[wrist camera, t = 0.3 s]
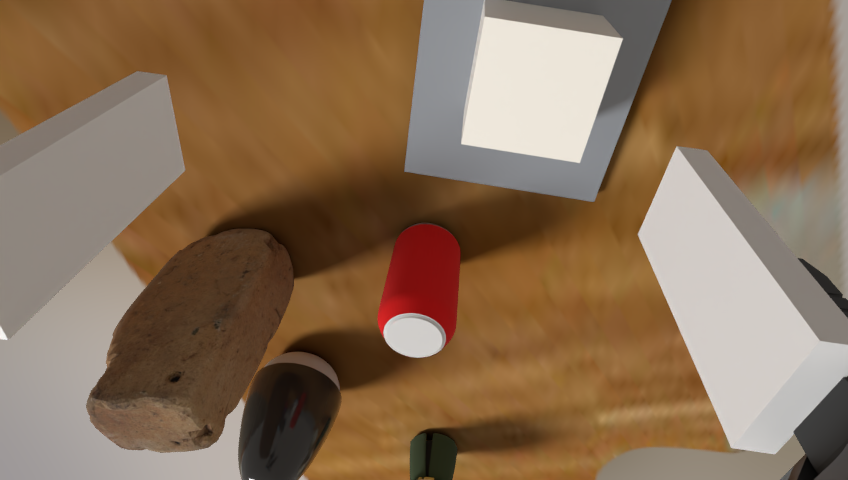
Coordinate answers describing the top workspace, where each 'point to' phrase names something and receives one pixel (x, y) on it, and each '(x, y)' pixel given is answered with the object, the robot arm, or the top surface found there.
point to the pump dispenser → (287, 417)
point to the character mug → (432, 458)
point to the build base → (509, 165)
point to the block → (192, 343)
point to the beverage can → (421, 291)
